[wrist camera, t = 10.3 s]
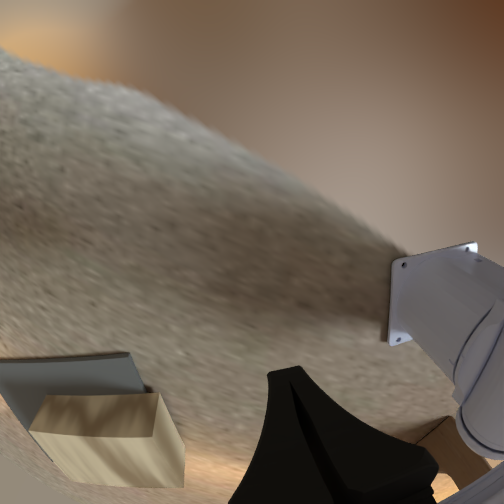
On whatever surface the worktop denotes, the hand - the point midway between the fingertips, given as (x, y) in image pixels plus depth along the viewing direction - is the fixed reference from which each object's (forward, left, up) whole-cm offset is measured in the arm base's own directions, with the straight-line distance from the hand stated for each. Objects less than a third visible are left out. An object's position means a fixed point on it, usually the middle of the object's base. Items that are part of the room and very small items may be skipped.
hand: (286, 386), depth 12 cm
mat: (+20, +12, -10) cm, 25 cm away
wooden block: (-20, +29, -11) cm, 37 cm away
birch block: (+9, +12, -7) cm, 17 cm away
